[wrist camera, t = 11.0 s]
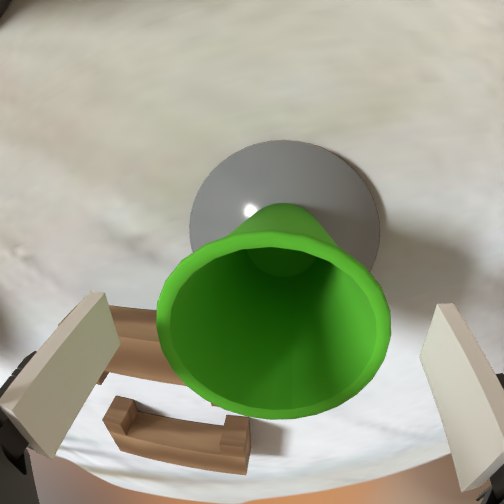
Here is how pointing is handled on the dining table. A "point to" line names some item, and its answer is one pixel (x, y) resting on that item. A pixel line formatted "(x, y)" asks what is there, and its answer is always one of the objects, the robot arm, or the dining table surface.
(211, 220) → the coaster
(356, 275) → the cup
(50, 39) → the dining table surface
